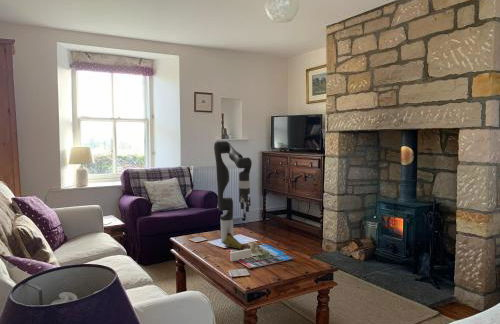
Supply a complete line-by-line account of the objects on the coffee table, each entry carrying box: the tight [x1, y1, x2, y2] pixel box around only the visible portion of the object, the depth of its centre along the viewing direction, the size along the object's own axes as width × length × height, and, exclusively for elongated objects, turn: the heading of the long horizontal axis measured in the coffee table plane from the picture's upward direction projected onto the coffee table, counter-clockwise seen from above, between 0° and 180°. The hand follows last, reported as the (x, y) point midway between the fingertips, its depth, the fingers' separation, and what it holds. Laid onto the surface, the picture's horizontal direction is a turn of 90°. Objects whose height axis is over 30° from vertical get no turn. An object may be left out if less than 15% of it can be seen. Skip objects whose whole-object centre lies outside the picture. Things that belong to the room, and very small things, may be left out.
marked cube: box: [247, 241, 259, 253], centre depth 240 cm, size 5×5×6 cm
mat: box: [243, 247, 264, 257], centre depth 240 cm, size 16×7×1 cm, turn 24°
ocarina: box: [222, 233, 245, 250], centre depth 251 cm, size 20×5×10 cm, turn 50°
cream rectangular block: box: [229, 248, 252, 262], centre depth 228 cm, size 2×14×6 cm, turn 114°
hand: (244, 210), depth 242 cm, fingers open, 8 cm apart
